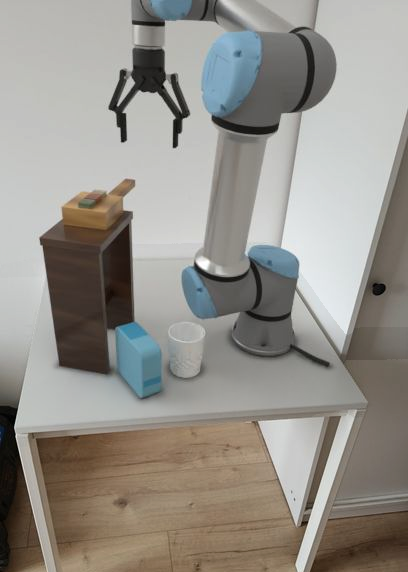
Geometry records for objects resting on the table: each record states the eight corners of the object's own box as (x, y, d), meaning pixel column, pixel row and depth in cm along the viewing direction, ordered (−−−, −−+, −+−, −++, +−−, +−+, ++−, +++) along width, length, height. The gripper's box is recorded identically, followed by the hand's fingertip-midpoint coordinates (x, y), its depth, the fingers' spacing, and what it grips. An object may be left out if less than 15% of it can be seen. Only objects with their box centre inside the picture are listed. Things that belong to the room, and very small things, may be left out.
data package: (161, 394, 105) (162, 347, 98) (142, 401, 102) (141, 353, 96) (135, 364, 113) (133, 318, 106) (116, 370, 110) (114, 324, 103)
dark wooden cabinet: (90, 321, 126) (79, 204, 109) (136, 329, 124) (133, 211, 107) (57, 365, 111) (38, 237, 93) (109, 374, 109) (100, 245, 92)
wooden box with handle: (112, 183, 122) (111, 164, 119) (148, 187, 120) (148, 168, 118) (63, 224, 99) (60, 201, 96) (106, 230, 98) (105, 207, 95)
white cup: (207, 362, 114) (209, 326, 109) (196, 383, 108) (199, 345, 102) (174, 355, 116) (175, 318, 110) (162, 375, 110) (162, 337, 104)
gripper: (204, 50, 117) (200, 146, 129) (103, 42, 120) (108, 136, 132) (197, 52, 111) (193, 152, 123) (91, 44, 114) (97, 142, 126)
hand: (149, 144), depth 128 cm, fingers open, 13 cm apart
